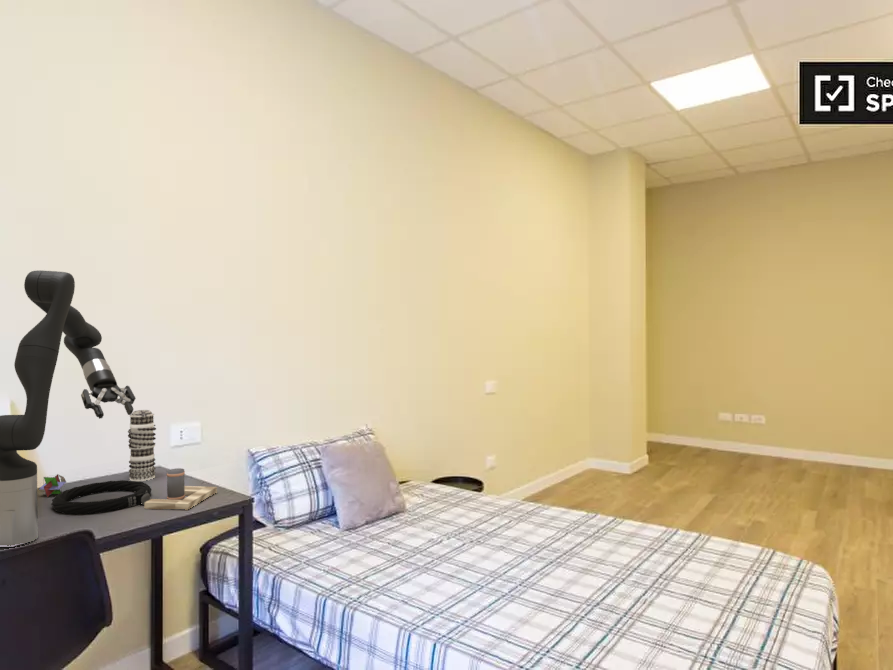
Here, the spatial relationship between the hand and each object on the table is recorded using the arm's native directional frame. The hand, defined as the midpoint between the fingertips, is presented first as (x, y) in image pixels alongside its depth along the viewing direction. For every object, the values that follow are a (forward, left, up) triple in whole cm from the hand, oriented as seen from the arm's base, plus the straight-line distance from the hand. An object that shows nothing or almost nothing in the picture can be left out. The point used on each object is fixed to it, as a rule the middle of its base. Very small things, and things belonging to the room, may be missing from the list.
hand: (116, 415), depth 176 cm
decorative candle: (+31, +12, -29) cm, 44 cm away
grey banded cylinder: (+7, -15, -29) cm, 33 cm away
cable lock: (+5, +7, -29) cm, 30 cm away
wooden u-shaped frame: (+8, -17, -29) cm, 34 cm away
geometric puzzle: (+9, +29, -29) cm, 42 cm away
